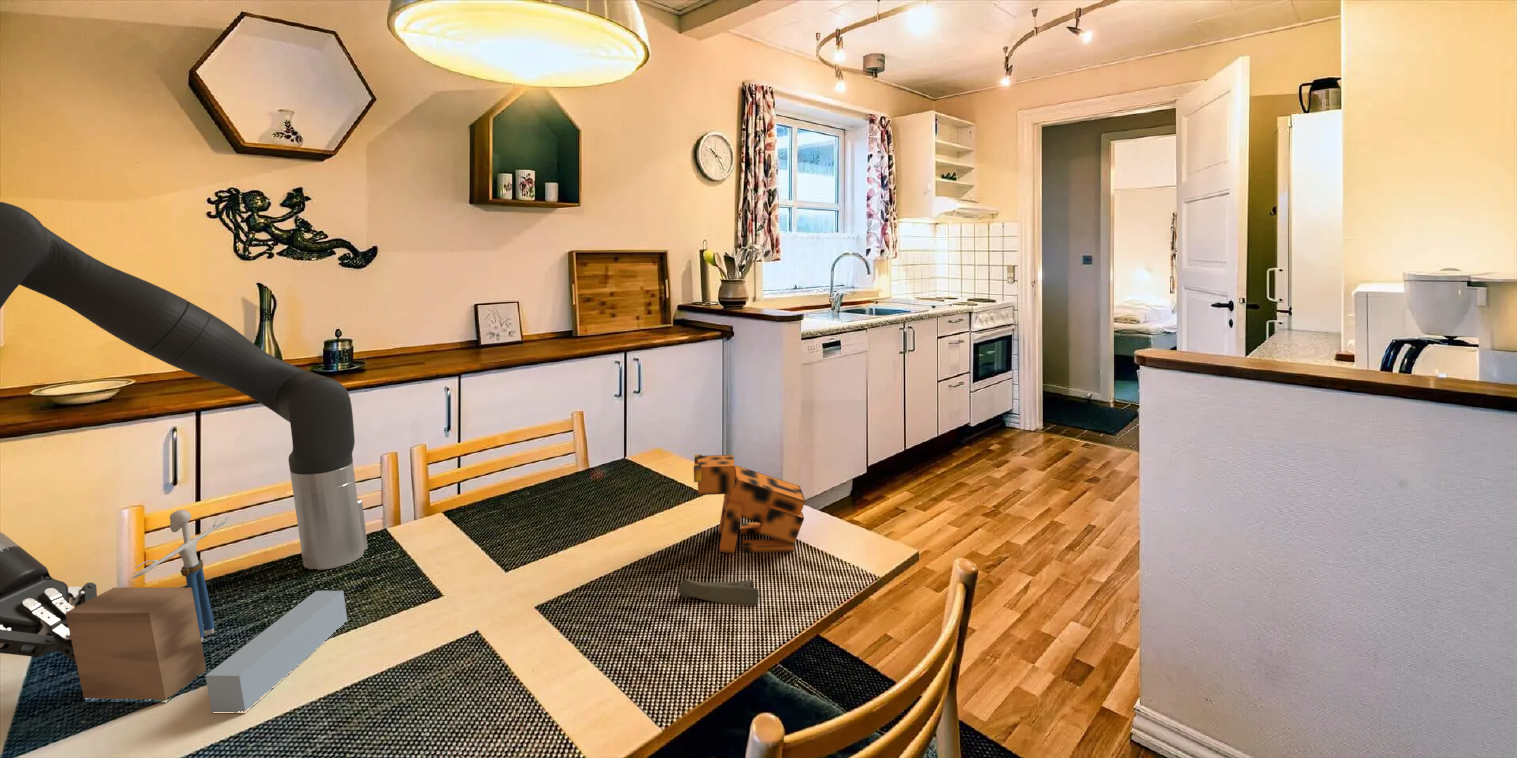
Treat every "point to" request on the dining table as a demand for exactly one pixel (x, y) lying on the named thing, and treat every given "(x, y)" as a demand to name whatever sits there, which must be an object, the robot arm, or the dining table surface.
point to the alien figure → (190, 568)
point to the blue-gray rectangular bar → (275, 652)
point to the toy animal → (751, 504)
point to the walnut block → (136, 643)
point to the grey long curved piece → (721, 591)
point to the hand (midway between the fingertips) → (99, 660)
